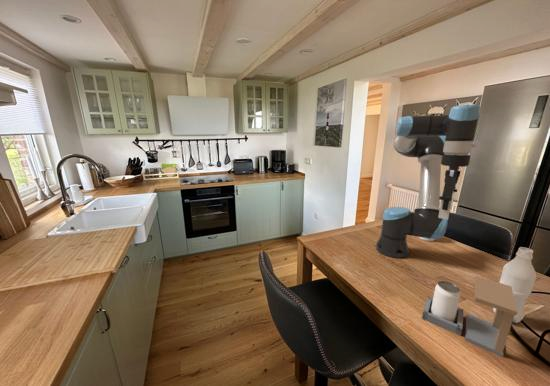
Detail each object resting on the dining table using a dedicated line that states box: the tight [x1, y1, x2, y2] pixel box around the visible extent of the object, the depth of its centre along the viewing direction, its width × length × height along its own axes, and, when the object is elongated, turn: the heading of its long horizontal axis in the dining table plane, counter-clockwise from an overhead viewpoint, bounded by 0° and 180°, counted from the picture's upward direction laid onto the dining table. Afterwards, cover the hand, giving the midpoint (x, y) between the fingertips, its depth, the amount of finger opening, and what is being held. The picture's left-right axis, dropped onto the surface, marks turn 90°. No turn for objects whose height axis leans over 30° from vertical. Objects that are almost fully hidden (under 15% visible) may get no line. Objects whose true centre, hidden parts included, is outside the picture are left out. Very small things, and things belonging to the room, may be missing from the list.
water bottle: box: [492, 246, 537, 324], centre depth 71 cm, size 7×7×25 cm
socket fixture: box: [421, 275, 517, 358], centre depth 69 cm, size 19×13×15 cm
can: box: [430, 280, 461, 323], centre depth 73 cm, size 6×6×12 cm
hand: (445, 213), depth 80 cm, fingers open, 13 cm apart
